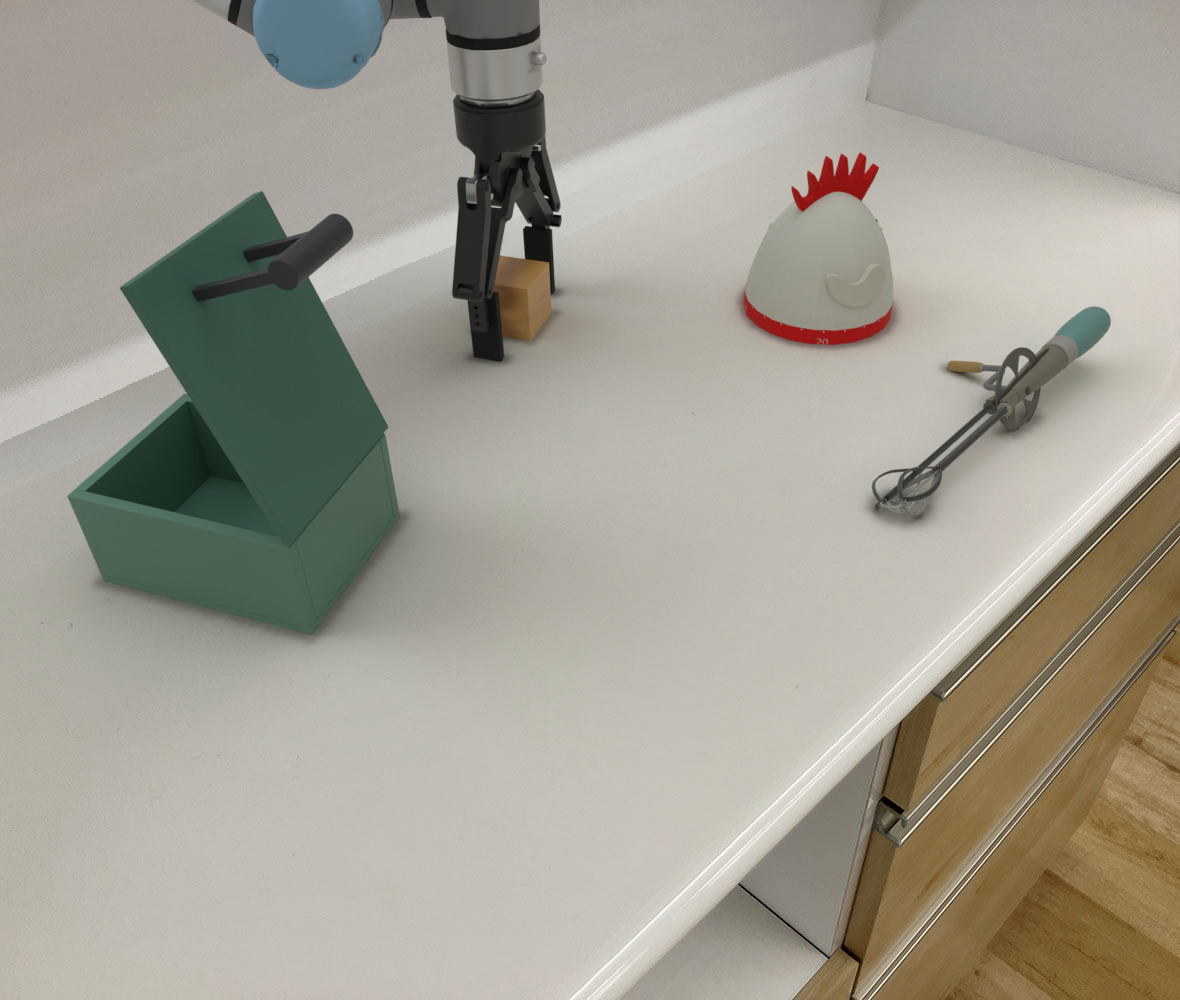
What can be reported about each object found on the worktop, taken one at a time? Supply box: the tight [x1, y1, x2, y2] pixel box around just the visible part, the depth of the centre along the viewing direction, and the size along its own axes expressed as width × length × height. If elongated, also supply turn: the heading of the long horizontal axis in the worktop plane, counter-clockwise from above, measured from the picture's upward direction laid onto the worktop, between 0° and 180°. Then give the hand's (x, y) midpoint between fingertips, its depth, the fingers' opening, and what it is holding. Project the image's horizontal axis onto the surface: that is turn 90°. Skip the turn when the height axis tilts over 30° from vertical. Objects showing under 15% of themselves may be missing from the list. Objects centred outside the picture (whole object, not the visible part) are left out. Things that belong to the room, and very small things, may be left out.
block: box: [493, 255, 552, 342], centre depth 98 cm, size 6×6×6 cm
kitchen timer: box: [743, 152, 894, 346], centre depth 96 cm, size 14×14×15 cm
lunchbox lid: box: [119, 190, 389, 543], centre depth 62 cm, size 17×13×8 cm
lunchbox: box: [67, 393, 401, 636], centre depth 73 cm, size 17×13×8 cm
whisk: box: [871, 305, 1112, 516], centre depth 85 cm, size 11×32×7 cm, turn 132°
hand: (516, 322), depth 99 cm, fingers open, 12 cm apart
